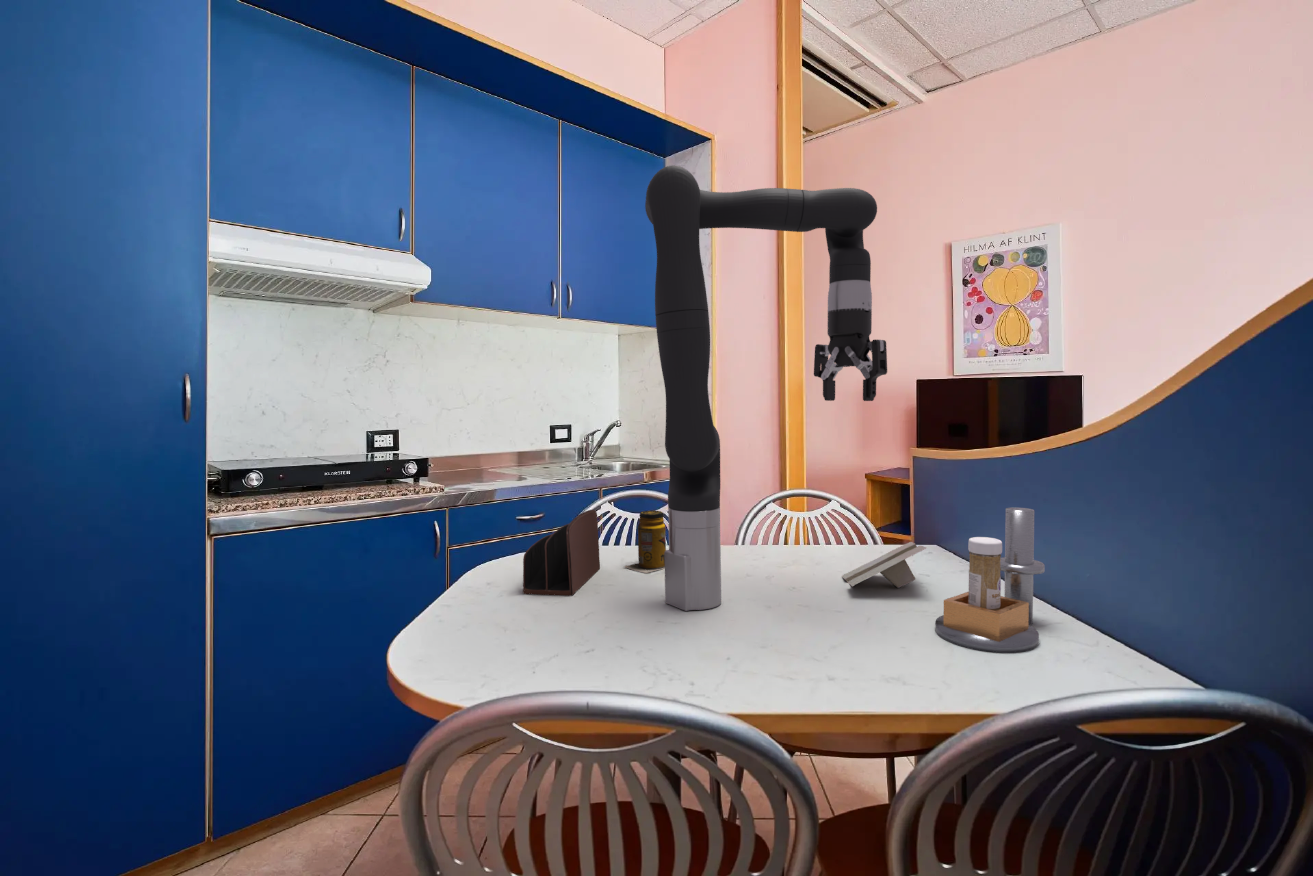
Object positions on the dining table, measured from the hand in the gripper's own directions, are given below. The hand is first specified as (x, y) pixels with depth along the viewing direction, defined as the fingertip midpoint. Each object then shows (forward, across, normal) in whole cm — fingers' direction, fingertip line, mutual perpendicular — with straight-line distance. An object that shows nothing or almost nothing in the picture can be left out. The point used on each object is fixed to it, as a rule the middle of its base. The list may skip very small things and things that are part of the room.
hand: (848, 400), depth 119 cm
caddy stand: (+35, +25, +4) cm, 44 cm away
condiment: (+36, -40, -16) cm, 57 cm away
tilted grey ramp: (+36, 0, +10) cm, 37 cm away
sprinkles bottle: (+34, +25, 0) cm, 43 cm away
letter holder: (+37, -42, -36) cm, 66 cm away
